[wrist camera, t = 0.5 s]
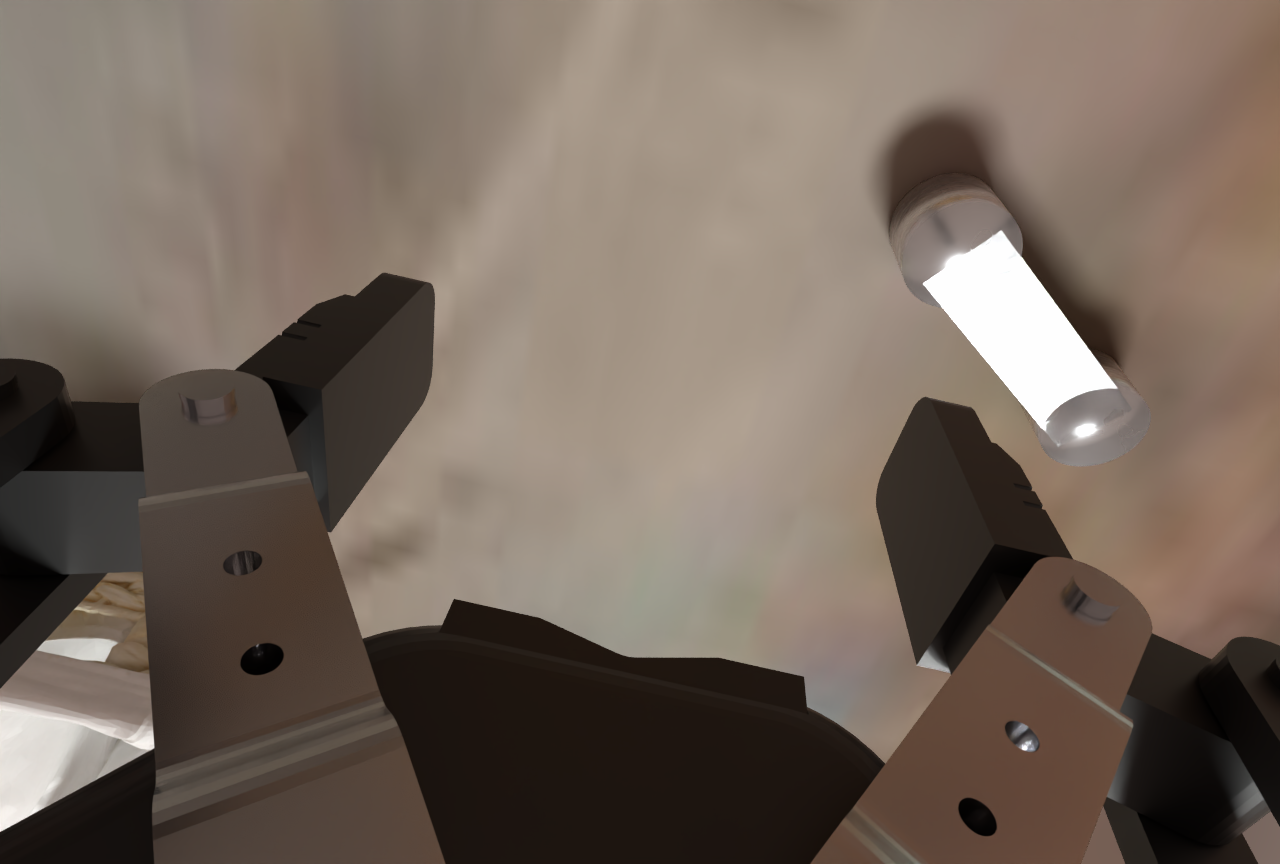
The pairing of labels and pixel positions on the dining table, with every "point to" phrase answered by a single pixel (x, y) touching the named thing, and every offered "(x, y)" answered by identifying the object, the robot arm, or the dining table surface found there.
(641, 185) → the dining table surface
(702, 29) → the dining table surface
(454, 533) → the dining table surface
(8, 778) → the storage basket
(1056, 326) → the grey dumbbell
